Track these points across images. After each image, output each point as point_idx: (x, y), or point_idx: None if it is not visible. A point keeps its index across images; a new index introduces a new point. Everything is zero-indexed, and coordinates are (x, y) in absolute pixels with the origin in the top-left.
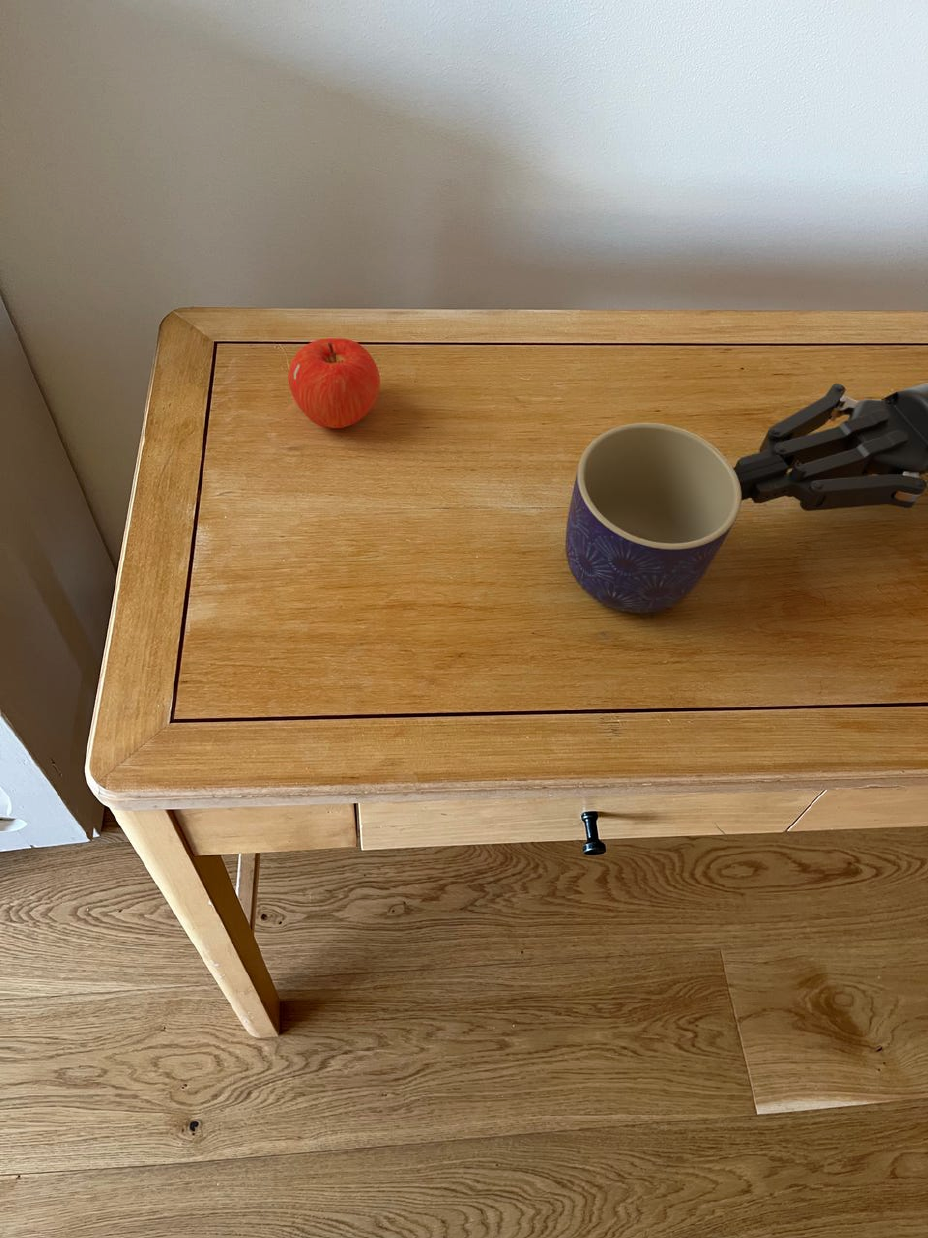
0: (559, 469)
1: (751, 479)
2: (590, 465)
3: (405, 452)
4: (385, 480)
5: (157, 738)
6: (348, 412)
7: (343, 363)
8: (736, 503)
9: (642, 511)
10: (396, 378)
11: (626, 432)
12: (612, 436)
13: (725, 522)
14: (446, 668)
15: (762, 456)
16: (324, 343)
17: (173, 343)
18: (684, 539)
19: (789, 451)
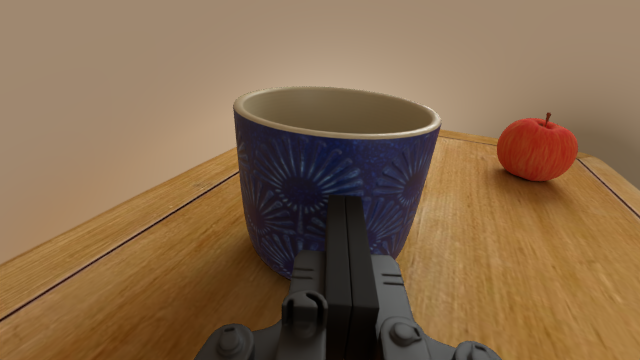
0: (474, 252)
1: (327, 231)
2: (397, 125)
3: (486, 186)
4: (455, 174)
5: None
6: (501, 144)
7: (536, 123)
8: (261, 118)
9: None
10: (581, 204)
11: (427, 118)
12: (421, 111)
13: (244, 109)
14: None
15: (393, 299)
16: (559, 126)
17: None
18: None
19: (387, 350)
